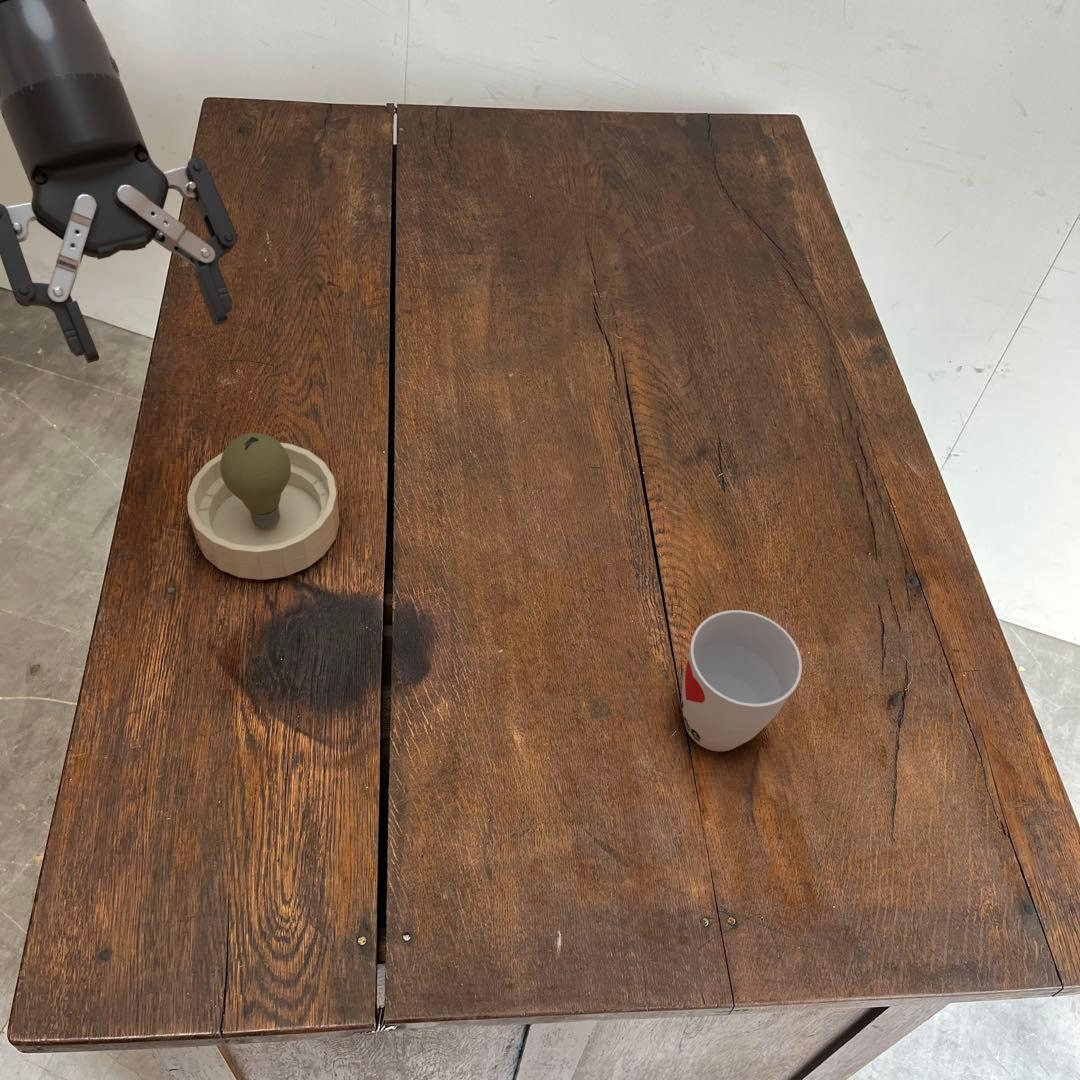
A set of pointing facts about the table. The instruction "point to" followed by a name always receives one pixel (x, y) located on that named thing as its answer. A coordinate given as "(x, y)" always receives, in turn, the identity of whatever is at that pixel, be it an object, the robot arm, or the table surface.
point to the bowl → (273, 549)
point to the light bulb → (257, 475)
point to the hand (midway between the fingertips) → (158, 341)
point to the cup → (736, 678)
